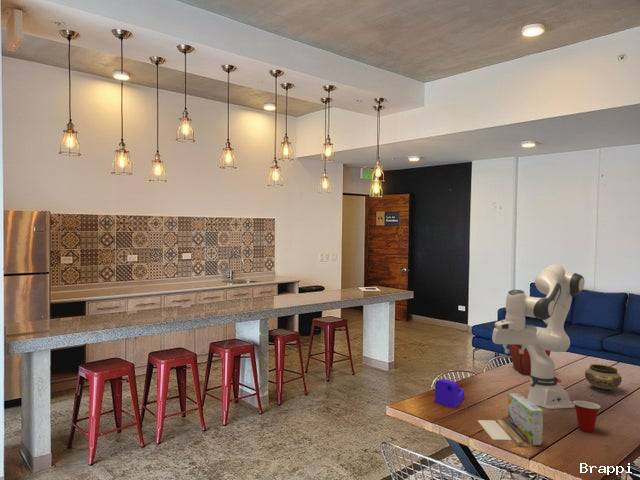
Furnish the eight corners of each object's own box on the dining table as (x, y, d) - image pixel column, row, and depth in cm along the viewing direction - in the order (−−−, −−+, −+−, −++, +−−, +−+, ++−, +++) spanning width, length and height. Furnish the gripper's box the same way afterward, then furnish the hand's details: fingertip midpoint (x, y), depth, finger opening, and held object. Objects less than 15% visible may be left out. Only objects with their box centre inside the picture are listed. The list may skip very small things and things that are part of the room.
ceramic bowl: (614, 403, 258) (623, 378, 256) (578, 388, 268) (587, 364, 265) (616, 391, 278) (625, 367, 276) (583, 377, 288) (591, 354, 286)
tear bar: (505, 423, 221) (505, 417, 221) (526, 446, 198) (526, 439, 198) (497, 423, 221) (497, 417, 221) (517, 446, 198) (518, 439, 198)
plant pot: (550, 377, 293) (551, 350, 293) (519, 376, 293) (520, 349, 293) (536, 368, 312) (537, 342, 312) (507, 367, 312) (508, 341, 312)
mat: (494, 421, 224) (494, 420, 224) (511, 440, 204) (511, 439, 204) (477, 421, 224) (477, 420, 224) (492, 440, 204) (492, 439, 204)
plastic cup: (600, 428, 218) (601, 402, 218) (598, 436, 209) (599, 409, 209) (573, 422, 224) (574, 397, 224) (571, 430, 215) (571, 404, 215)
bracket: (453, 408, 240) (454, 385, 239) (434, 402, 248) (435, 379, 247) (471, 399, 252) (472, 377, 252) (453, 394, 260) (454, 372, 260)
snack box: (506, 425, 220) (507, 392, 220) (518, 424, 221) (519, 392, 220) (530, 446, 199) (531, 410, 199) (543, 445, 200) (544, 410, 199)
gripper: (534, 323, 230) (533, 352, 230) (491, 322, 230) (490, 351, 230) (540, 326, 224) (539, 355, 224) (496, 325, 224) (495, 354, 224)
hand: (514, 353), depth 227 cm, fingers open, 5 cm apart
